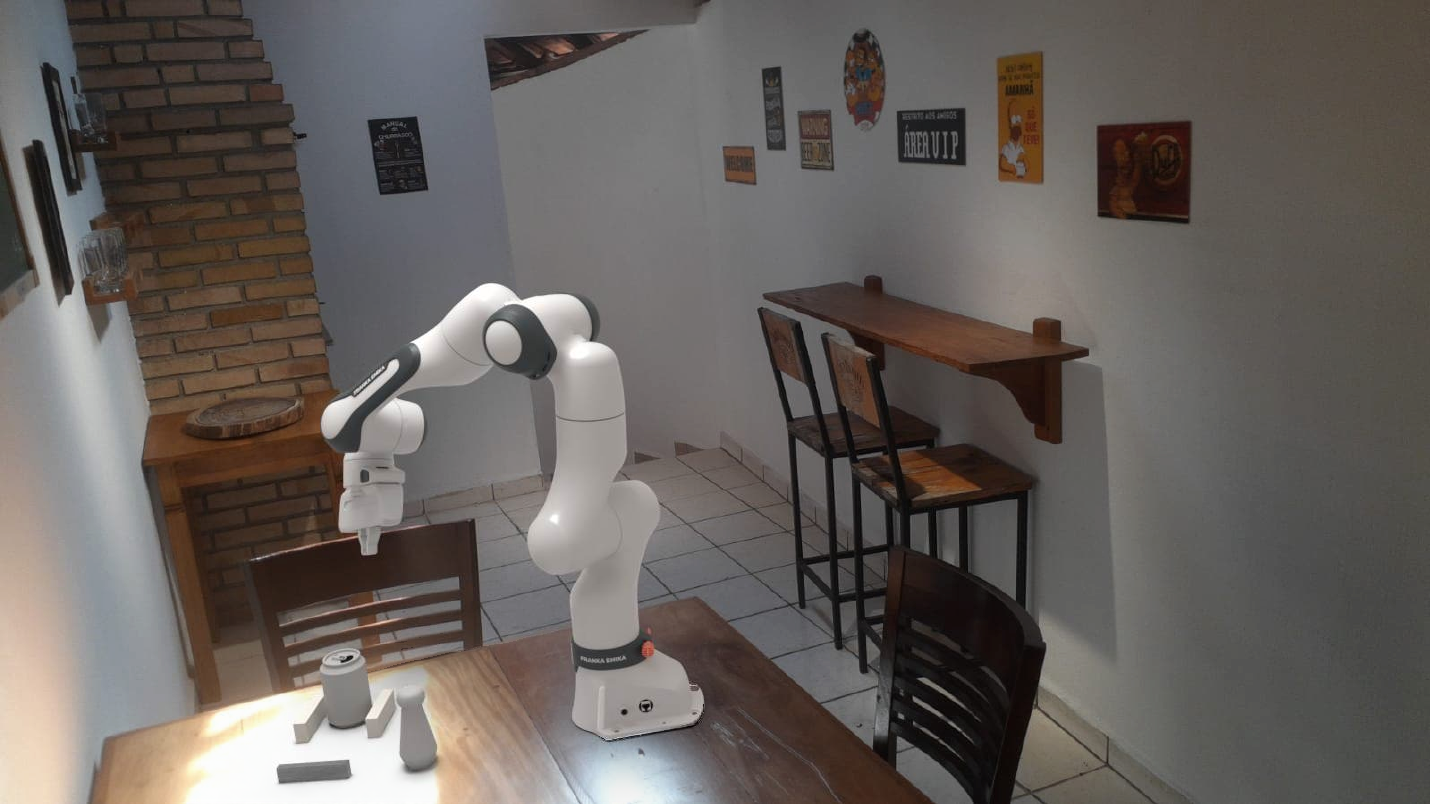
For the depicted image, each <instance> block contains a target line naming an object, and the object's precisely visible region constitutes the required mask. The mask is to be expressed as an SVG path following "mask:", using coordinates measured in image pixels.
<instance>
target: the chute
mask: <svg viewBox="0 0 1430 804" xmlns="http://www.w3.org/2000/svg"><path fill="white" fill-rule="evenodd" d="M396 708H397V702H396V698H395V691H394V688H391V689H381V691H380V693H379V694H378V696H377V698H376V699H375V700H374V703H373V704H372V708H371V710H370V712H369V713H368V715H367V717H366V719H365V721H364V722H365V725H366V726H365V728H366V735H367V738H368V739H373V738H375V739H376V738H381V736H382V734H383V732H385V728H386V727H387V725H388V723H389V721H390V719H391V717H392V715H393V713H394V712H395V710H396ZM326 717H327V712H326V706H325V700H324V694H323V693H319V694H318V693H317V694H315V693H314V694H313V695H312V697H311V698H310V699H309V701H308V702H307V703H306V705H305V707H304V708H303V710H302V711H301V712H300V714H298V717H297V718H296V719H295V721H294V722H293V724H292V725H293V731H294V738H295V743H296V744H300V743H301V744H302V743H303V744H305V743H309V742H310V740H311V739H312V738H313V735H314V734H315V733H316V731H317V730H318V728H319V726H320V725H321V723H322V722H323V720H324V719H325V718H326Z"/></svg>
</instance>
